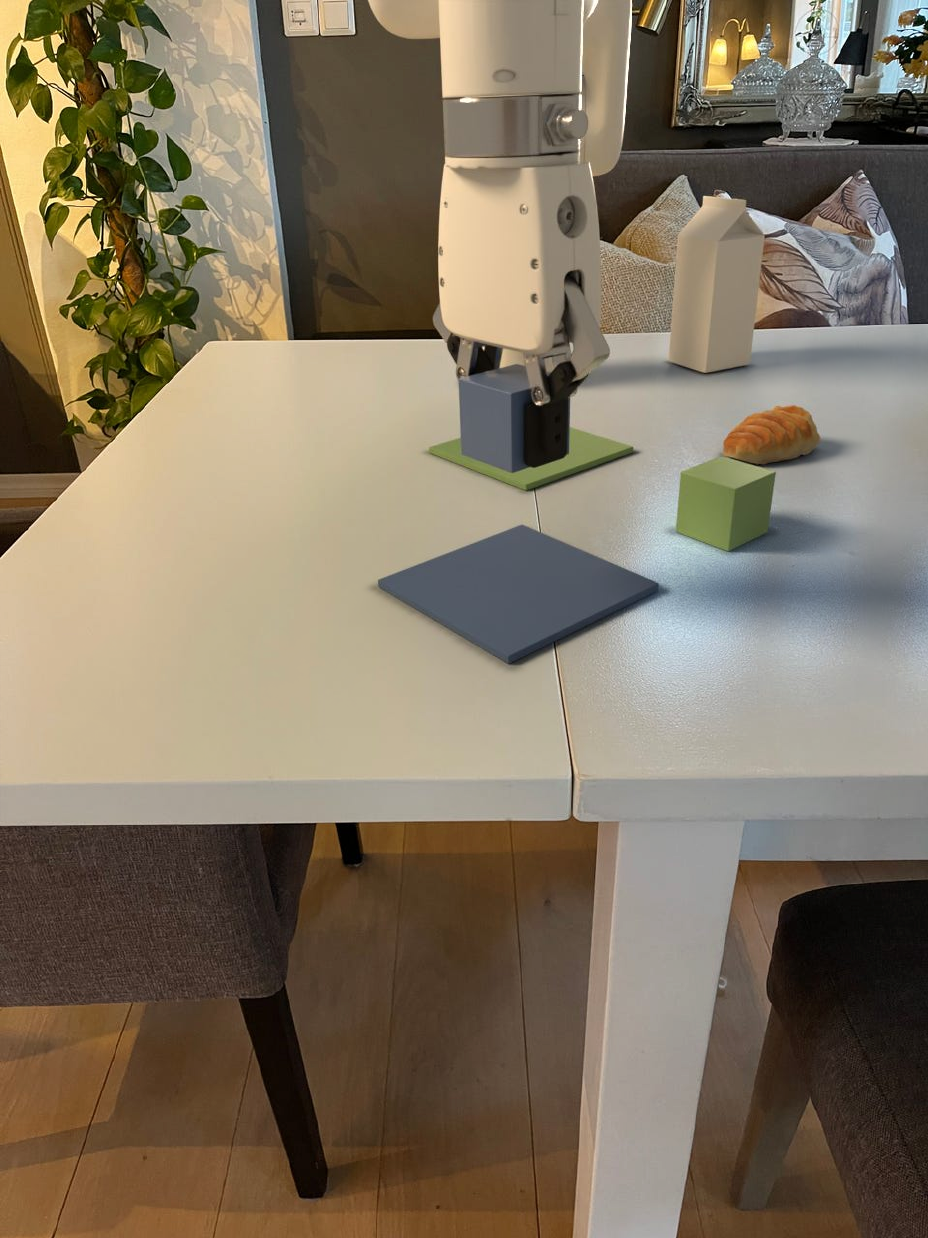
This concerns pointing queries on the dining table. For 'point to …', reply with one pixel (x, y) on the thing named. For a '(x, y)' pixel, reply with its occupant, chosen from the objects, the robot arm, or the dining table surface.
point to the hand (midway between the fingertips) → (514, 448)
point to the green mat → (581, 456)
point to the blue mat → (517, 591)
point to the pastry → (773, 436)
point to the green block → (725, 502)
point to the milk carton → (716, 287)
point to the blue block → (496, 416)
